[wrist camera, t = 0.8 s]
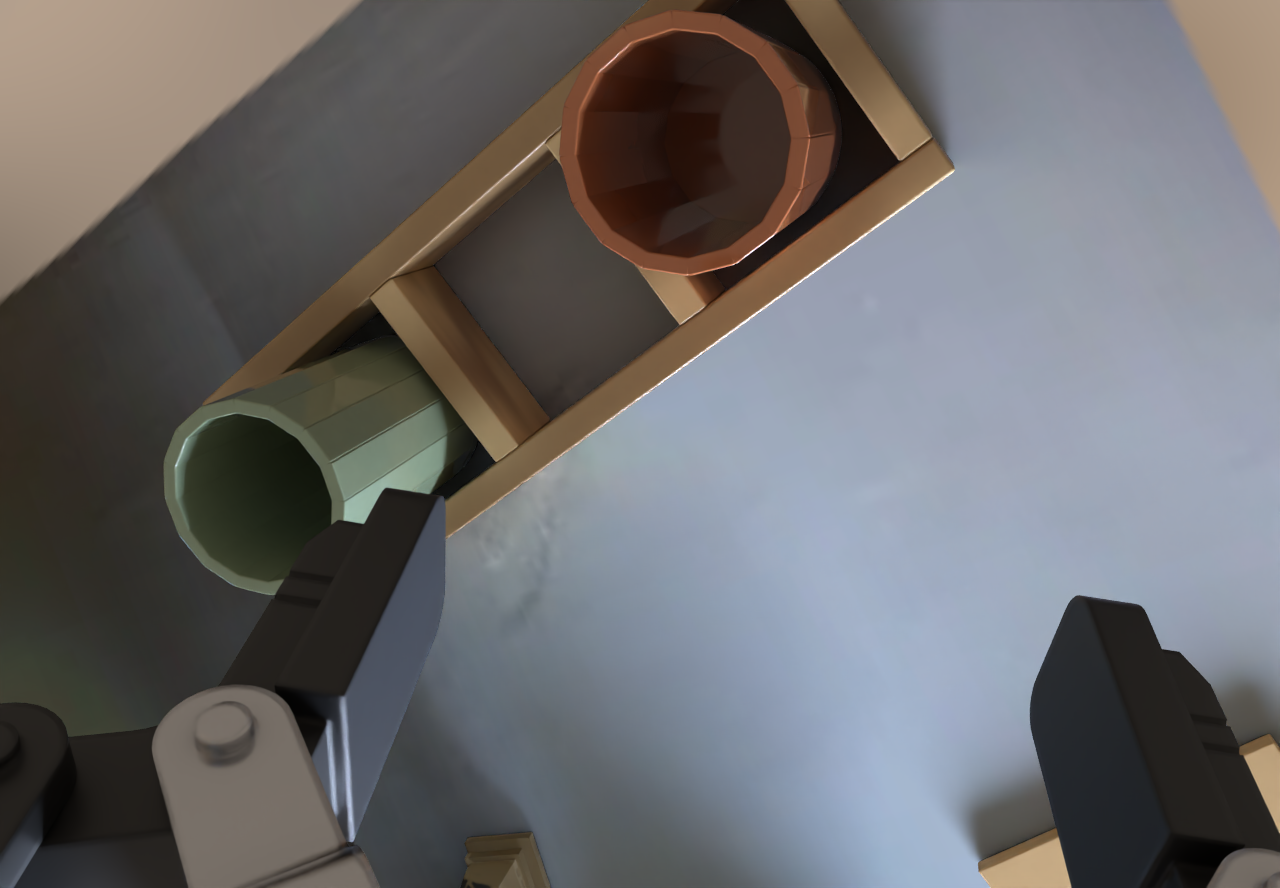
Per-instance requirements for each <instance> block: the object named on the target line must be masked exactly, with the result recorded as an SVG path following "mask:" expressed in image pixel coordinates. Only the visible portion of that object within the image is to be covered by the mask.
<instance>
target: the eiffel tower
mask: <svg viewBox="0 0 1280 888" xmlns="http://www.w3.org/2000/svg"><path fill="white" fill-rule="evenodd" d="M465 846H466V849H467V851H468V854H467V855H466V857H465V861H466V864H467V867H468V869H467V870H466V873H465V876H464V878H463V881H462V884H461V887H460V888H551V887H550V884H549V881H548V878H547V875H546V872H545V869H544V866H543V863H542V860H541V857H540V854H539V851H538V848H537V845H536V842H535V839H534V836H533V833H532V832H527V833H515V834H504V835H493V836H481V837H470V838H467V840H466V842H465Z"/></svg>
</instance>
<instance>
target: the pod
mask: <svg viewBox="0 0 1280 888" xmlns="http://www.w3.org/2000/svg"><path fill="white" fill-rule="evenodd" d="M477 441H478V438H477V437H476V436H475V434H474V433H473V432H472V431H471V429H470V428H469V427H468V425H467V424H466V423H465V421H464V420H463V419H462V417H461V416H460V415H459V414H458V412H457V411H456V410H455V408H454V407H453V406H452V404H451V403H450V402H449V401H448V399H447V398H446V397H445V395H444V394H443V393H442V391H441V390H440V389H439V388H438V386H437V385H436V384H435V382H434V381H433V380H432V378H431V377H430V376H429V374H428V373H427V372H426V371H425V369H424V368H423V367H422V365H421V364H420V363H419V361H418V360H417V359H416V358H415V356H414V355H413V354H412V352H411V351H410V350H409V348H408V347H407V346H406V345H405V343H404V342H403V341H402V339H401V338H400V337H399V335H387V336H381V337H378V338H375V339H373V340H370V341H367V342H363V343H359V344H357V345H354V346H352V347H349V348H347V349H344V350H342V351H339V352H337V353H334V354H332V355H329V356H327V357H324V358H322V359H319V360H317V361H314V362H312V363H309V364H307V365H304V366H302V367H299V368H297V369H294V370H291V371H289V372H286V373H284V374H281V375H279V376H276V377H274V378H271V379H269V380H266V381H264V382H261V383H259V384H256V385H254V386H251V387H249V388H246V389H244V390H241V391H239V392H236V393H234V394H231V395H229V396H226V397H224V398H221V399H219V400H216V401H214V402H211V403H209V404H206V405H204V406H202V407H200V408H198V409H197V410H196V411H195V412H194V413H193V414H192V415H191V416H190V417H188V418H187V419H186V420H185V421H184V422H183V423H182V424H181V425H180V426H179V427H177V429H176V430H175V432H174V435H173V438H172V440H171V443H170V445H169V448H168V451H167V453H166V456H165V458H164V463H163V467H164V497H165V501H166V504H167V506H168V509H169V511H170V514H171V517H172V519H173V522H174V524H175V527H176V529H177V532H178V534H180V535H179V536H180V537H181V538H182V540H183V541H184V542H185V543H186V545H187V546H188V547H189V548H190V550H191V551H192V552H193V553H194V555H195V556H196V557H197V558H198V560H199V561H200V562H201V563H202V564H203V565H204V566H205V567H206V568H208V569H209V570H211V571H212V572H214V573H215V574H217V575H218V576H220V577H221V578H223V579H224V580H226V581H227V582H229V583H230V584H232V585H233V586H236V587H238V588H242V589H247V590H251V591H255V592H259V593H263V594H267V595H275V594H276V592H277V590H278V589H279V587H280V585H281V584H282V582H283V580H284V579H285V577H286V576H289V573H290V569H291V567H292V566H293V564H294V562H295V561H296V559H297V558H298V556H299V554H300V553H301V551H302V549H303V548H304V546H305V545H306V543H307V542H308V541H309V540H311V539H312V538H313V537H315V536H316V535H318V534H319V533H320V532H322V531H323V530H325V529H326V528H327V527H329V526H330V525H332V524H333V523H334V522H336V521H337V520H343V521H350V522H356V523H362V524H364V523H365V521H366V519H367V517H368V515H369V514H370V512H371V510H372V508H373V506H374V505H375V503H376V501H377V499H378V497H379V496H380V494H381V492H382V491H383V490H384V489H385V488H394V489H400V490H407V491H414V492H420V493H427V494H431V493H433V492H434V491H435V490H437V489H438V488H439V487H441V486H442V485H443V484H445V483H446V482H447V481H449V480H450V479H451V478H453V477H454V476H455V475H457V474H458V473H459V472H460V471H461V470H462V469H463V468H464V466H465V465H466V464H467V463H468V461H469V460H470V458H471V456H472V455H473V452H474V450H475V448H476V445H477Z"/></svg>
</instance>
